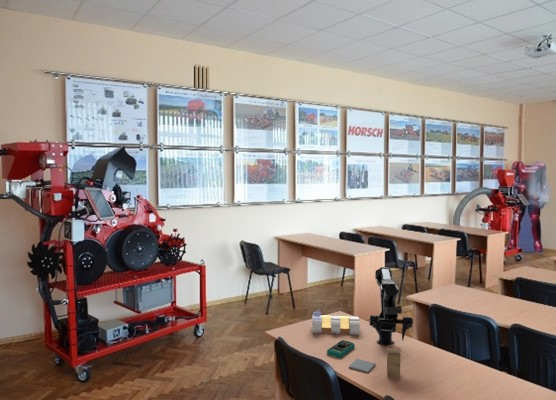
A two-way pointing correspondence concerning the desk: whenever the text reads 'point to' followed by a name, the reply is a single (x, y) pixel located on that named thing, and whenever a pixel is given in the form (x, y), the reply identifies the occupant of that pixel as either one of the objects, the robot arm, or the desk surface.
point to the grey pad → (362, 365)
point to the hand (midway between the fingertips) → (392, 339)
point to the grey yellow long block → (334, 323)
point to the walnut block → (393, 363)
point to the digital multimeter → (341, 348)
